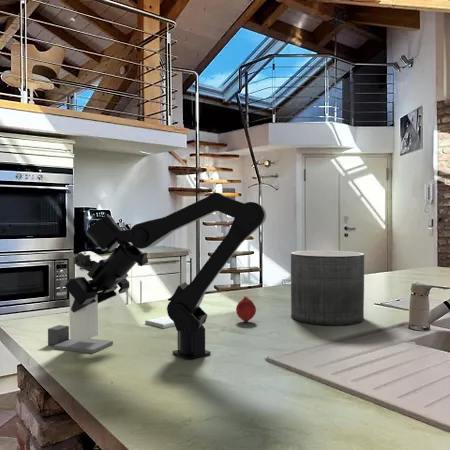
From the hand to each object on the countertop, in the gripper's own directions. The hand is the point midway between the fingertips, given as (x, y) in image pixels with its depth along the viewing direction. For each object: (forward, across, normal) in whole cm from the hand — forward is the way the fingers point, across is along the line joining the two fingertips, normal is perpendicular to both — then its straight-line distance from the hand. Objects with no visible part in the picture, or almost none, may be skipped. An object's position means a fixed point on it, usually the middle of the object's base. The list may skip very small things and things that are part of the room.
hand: (79, 308), depth 110 cm
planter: (-31, -51, +44) cm, 74 cm away
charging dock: (+7, 0, +6) cm, 9 cm away
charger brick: (+4, 0, +6) cm, 7 cm away
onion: (-15, -37, +28) cm, 49 cm away
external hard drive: (0, -30, +14) cm, 33 cm away
